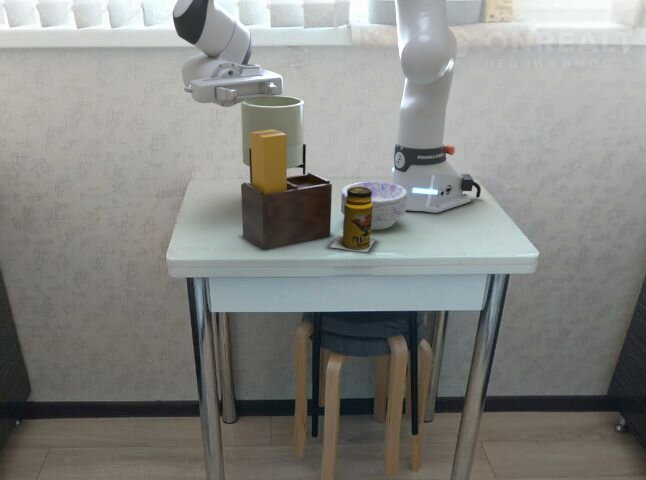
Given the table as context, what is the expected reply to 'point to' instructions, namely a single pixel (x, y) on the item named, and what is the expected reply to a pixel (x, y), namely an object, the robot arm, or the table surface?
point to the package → (269, 160)
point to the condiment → (356, 221)
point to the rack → (287, 212)
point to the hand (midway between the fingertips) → (254, 93)
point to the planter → (275, 126)
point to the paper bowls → (382, 202)
